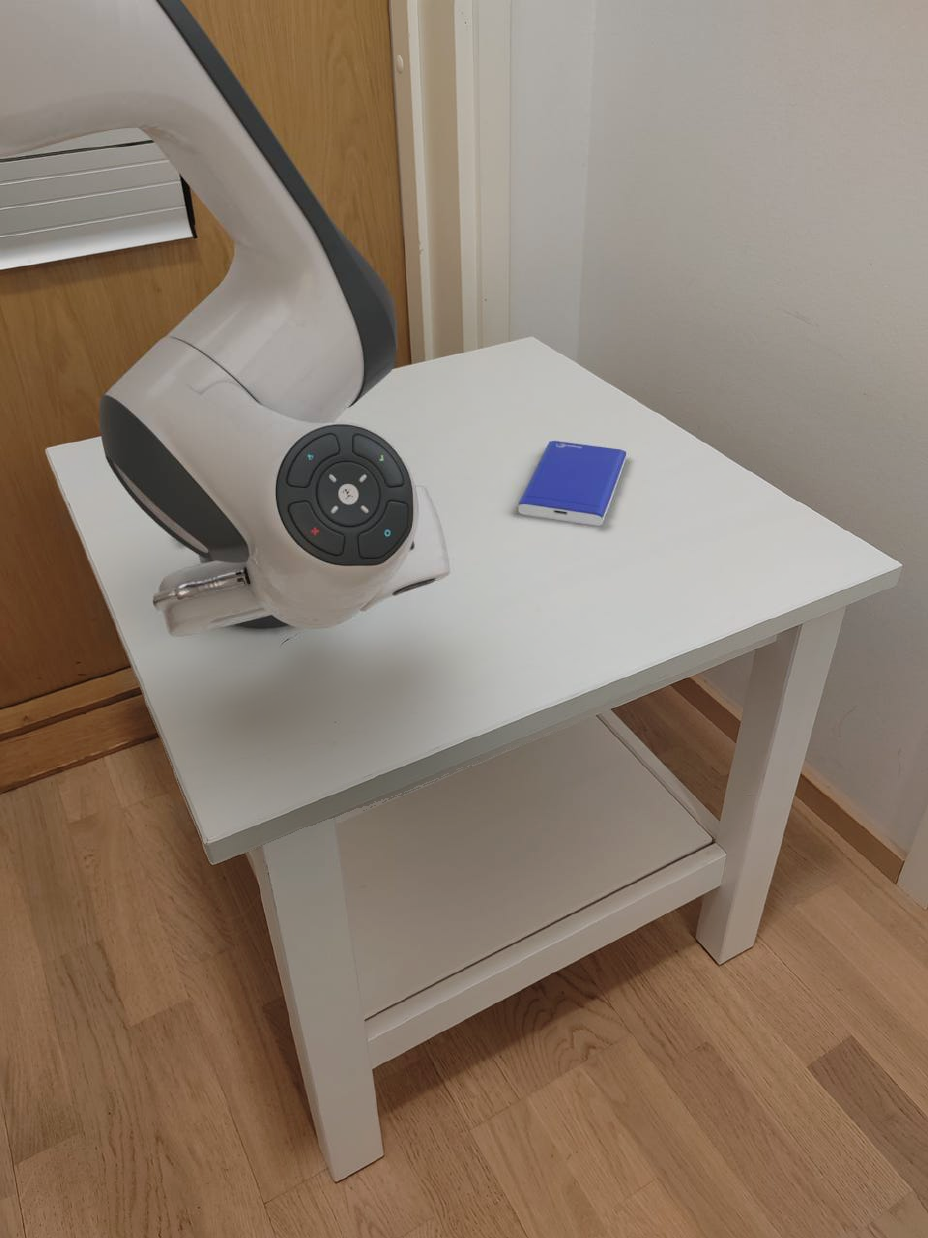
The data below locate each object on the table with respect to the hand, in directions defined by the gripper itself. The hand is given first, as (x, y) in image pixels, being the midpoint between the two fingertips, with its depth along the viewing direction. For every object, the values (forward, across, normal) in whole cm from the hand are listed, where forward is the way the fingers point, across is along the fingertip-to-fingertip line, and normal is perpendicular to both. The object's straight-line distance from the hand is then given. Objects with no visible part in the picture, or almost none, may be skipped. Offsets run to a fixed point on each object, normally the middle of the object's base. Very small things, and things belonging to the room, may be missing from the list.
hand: (297, 593), depth 75 cm
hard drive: (+12, +31, +5) cm, 34 cm away
